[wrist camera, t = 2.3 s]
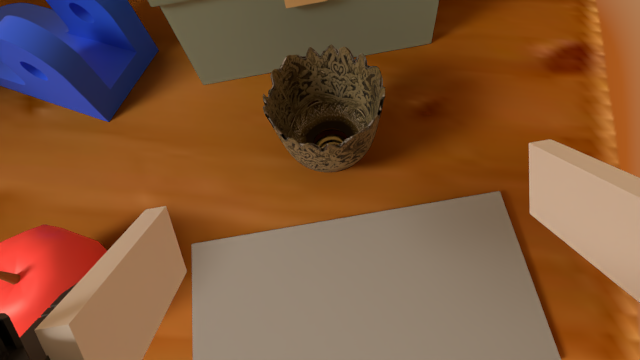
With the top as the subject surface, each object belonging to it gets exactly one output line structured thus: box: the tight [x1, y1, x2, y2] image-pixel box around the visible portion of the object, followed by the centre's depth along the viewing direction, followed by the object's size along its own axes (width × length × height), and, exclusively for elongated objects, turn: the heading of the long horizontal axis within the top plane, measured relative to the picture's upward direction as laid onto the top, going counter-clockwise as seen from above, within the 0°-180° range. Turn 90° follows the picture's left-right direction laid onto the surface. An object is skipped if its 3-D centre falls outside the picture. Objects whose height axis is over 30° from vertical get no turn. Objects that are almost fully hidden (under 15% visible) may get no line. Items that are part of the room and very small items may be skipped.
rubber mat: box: [192, 191, 561, 360], centre depth 28 cm, size 22×11×1 cm, turn 98°
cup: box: [263, 44, 385, 172], centre depth 29 cm, size 8×7×8 cm
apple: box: [0, 225, 107, 337], centre depth 26 cm, size 8×8×8 cm
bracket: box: [0, 0, 159, 122], centre depth 36 cm, size 18×8×9 cm, turn 68°
